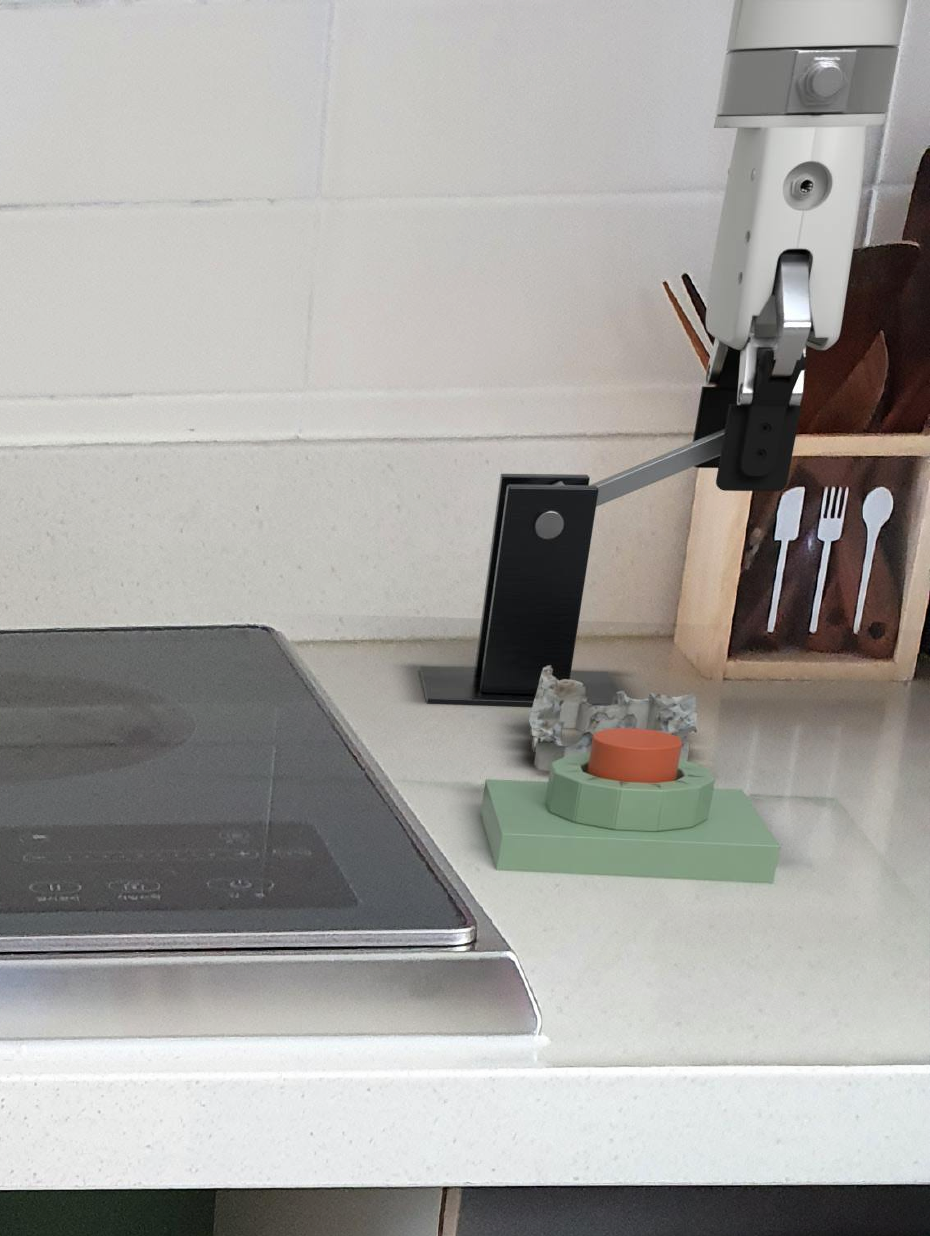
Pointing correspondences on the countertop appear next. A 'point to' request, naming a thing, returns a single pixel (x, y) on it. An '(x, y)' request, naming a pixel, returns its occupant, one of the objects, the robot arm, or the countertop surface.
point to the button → (634, 755)
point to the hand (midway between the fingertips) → (735, 476)
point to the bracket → (529, 597)
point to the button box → (627, 826)
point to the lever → (659, 467)
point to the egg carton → (600, 717)
